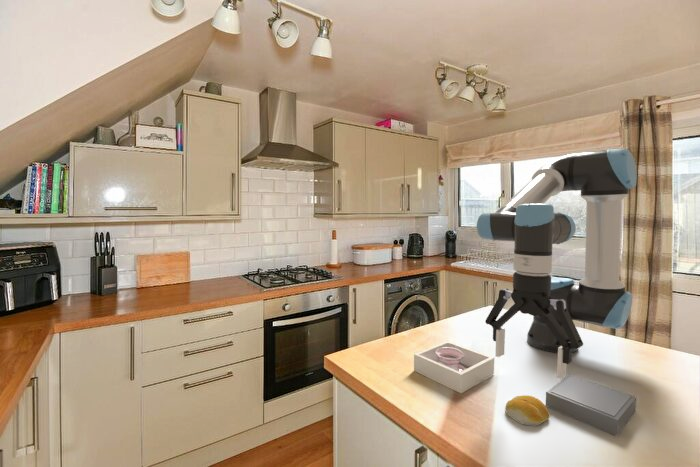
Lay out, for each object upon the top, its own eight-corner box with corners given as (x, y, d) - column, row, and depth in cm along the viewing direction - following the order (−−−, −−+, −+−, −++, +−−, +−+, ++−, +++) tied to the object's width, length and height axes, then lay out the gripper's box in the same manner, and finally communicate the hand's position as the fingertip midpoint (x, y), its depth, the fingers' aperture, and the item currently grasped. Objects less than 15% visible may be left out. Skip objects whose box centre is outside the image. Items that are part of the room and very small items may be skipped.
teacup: (464, 387, 91) (464, 365, 91) (421, 376, 98) (421, 355, 97) (474, 369, 101) (474, 349, 101) (435, 360, 108) (435, 341, 107)
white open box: (413, 370, 101) (413, 354, 100) (447, 356, 111) (447, 340, 110) (460, 393, 88) (461, 374, 88) (493, 374, 98) (494, 357, 98)
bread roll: (554, 417, 78) (555, 400, 78) (533, 431, 73) (534, 414, 73) (520, 400, 85) (520, 385, 85) (498, 412, 80) (499, 396, 80)
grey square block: (545, 406, 82) (546, 391, 82) (568, 387, 91) (569, 373, 91) (617, 436, 71) (617, 419, 71) (635, 411, 80) (636, 396, 79)
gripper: (472, 267, 84) (470, 351, 85) (591, 284, 64) (585, 393, 66) (488, 264, 88) (486, 344, 90) (604, 279, 69) (599, 381, 70)
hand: (528, 365), depth 78 cm, fingers open, 13 cm apart
